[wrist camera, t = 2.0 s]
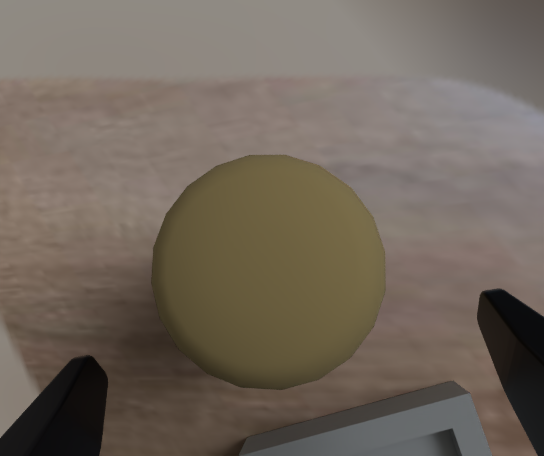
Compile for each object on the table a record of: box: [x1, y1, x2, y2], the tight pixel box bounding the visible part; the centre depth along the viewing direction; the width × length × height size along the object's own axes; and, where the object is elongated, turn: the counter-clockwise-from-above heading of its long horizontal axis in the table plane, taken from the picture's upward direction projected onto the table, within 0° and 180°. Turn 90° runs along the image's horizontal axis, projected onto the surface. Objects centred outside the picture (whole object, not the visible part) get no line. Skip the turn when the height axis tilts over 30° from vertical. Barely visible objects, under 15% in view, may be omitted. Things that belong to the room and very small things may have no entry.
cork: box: [151, 155, 385, 390], centre depth 13 cm, size 6×6×11 cm
